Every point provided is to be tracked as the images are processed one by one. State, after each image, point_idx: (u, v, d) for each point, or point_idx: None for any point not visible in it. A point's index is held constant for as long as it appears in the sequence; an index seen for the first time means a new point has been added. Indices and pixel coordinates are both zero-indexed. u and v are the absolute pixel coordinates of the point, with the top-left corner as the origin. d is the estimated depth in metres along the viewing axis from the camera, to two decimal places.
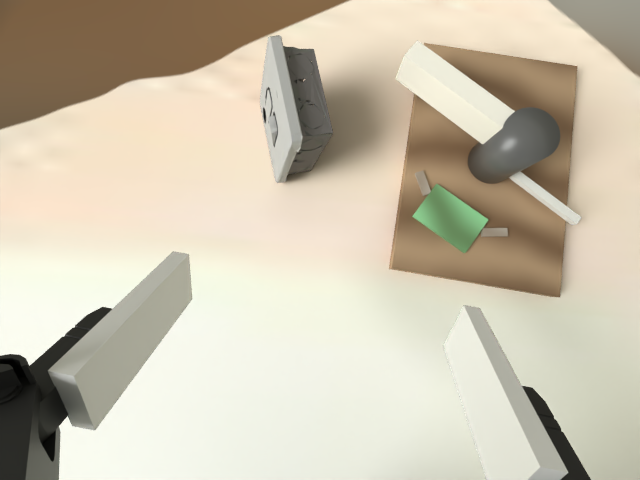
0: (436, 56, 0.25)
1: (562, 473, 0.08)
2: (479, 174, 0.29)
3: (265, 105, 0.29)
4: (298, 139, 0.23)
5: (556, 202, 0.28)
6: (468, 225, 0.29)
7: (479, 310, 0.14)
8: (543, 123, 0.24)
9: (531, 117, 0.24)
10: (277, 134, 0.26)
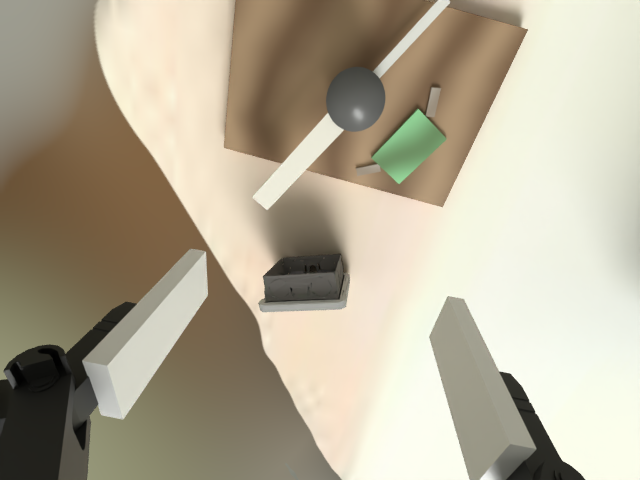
0: (267, 182, 0.27)
1: (531, 450, 0.08)
2: None
3: None
4: (343, 302, 0.30)
5: (419, 26, 0.24)
6: (419, 131, 0.28)
7: (463, 301, 0.14)
8: (345, 85, 0.22)
9: (338, 98, 0.22)
10: None
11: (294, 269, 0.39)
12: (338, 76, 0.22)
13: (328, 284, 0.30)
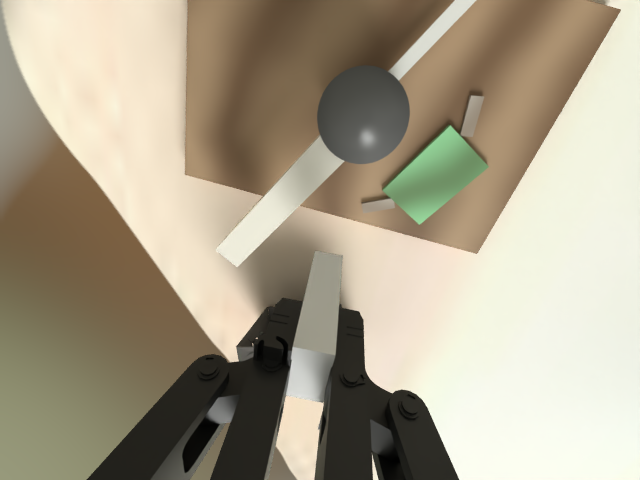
0: (235, 231, 0.19)
1: (331, 356, 0.10)
2: None
3: None
4: None
5: (458, 5, 0.16)
6: (451, 156, 0.20)
7: (341, 257, 0.16)
8: (347, 94, 0.14)
9: (335, 115, 0.14)
10: None
11: None
12: (336, 80, 0.14)
13: None
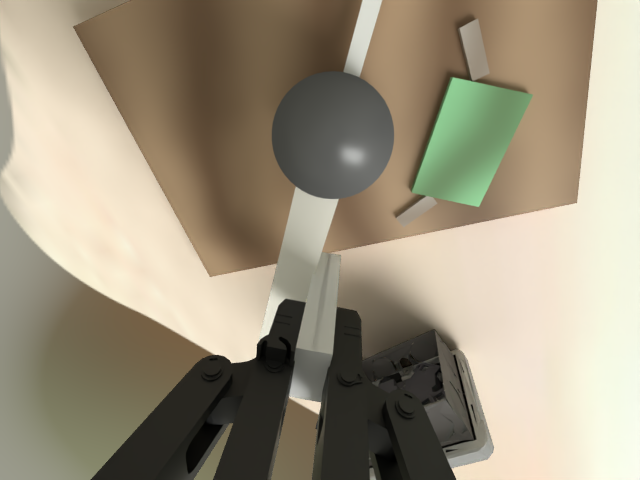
0: (266, 322, 0.16)
1: (328, 355, 0.10)
2: None
3: None
4: (485, 445, 0.17)
5: None
6: (474, 111, 0.15)
7: (339, 256, 0.16)
8: (299, 125, 0.11)
9: (299, 154, 0.11)
10: None
11: (380, 372, 0.27)
12: (278, 117, 0.11)
13: (445, 420, 0.18)
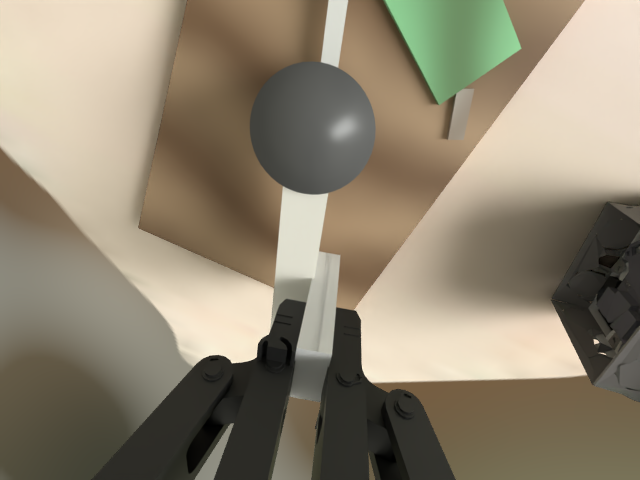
0: None
1: (327, 355, 0.10)
2: None
3: None
4: None
5: None
6: None
7: (338, 256, 0.16)
8: (277, 122, 0.10)
9: (281, 152, 0.11)
10: None
11: (587, 290, 0.21)
12: (254, 117, 0.10)
13: None
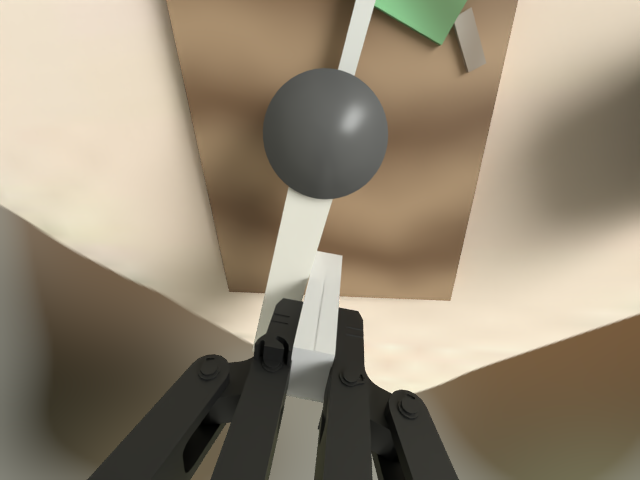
0: (261, 325, 0.16)
1: (330, 355, 0.10)
2: None
3: None
4: None
5: None
6: None
7: (340, 257, 0.16)
8: (291, 123, 0.10)
9: (291, 154, 0.11)
10: None
11: None
12: (269, 116, 0.10)
13: None
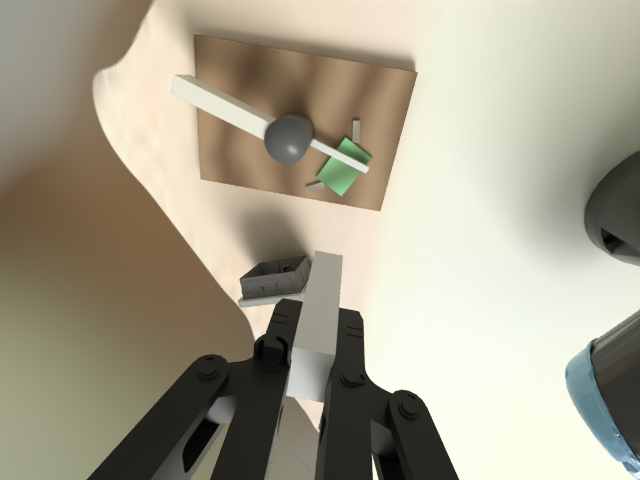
0: (194, 86, 0.29)
1: (331, 356, 0.10)
2: None
3: None
4: (303, 295, 0.38)
5: (348, 160, 0.35)
6: (350, 154, 0.36)
7: (341, 257, 0.16)
8: (292, 131, 0.29)
9: (282, 128, 0.29)
10: None
11: (271, 271, 0.47)
12: (295, 123, 0.29)
13: (290, 281, 0.38)
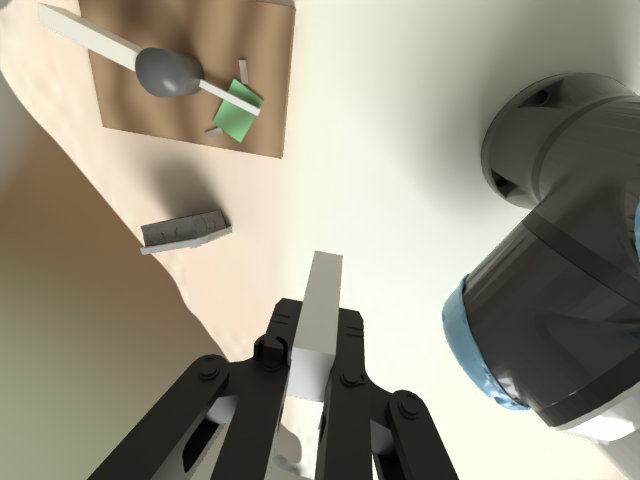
0: (60, 15, 0.29)
1: (331, 356, 0.10)
2: None
3: None
4: (200, 239, 0.38)
5: (238, 101, 0.35)
6: (241, 97, 0.36)
7: (341, 257, 0.16)
8: (160, 61, 0.30)
9: (150, 58, 0.29)
10: None
11: None
12: (162, 52, 0.29)
13: (188, 226, 0.38)
